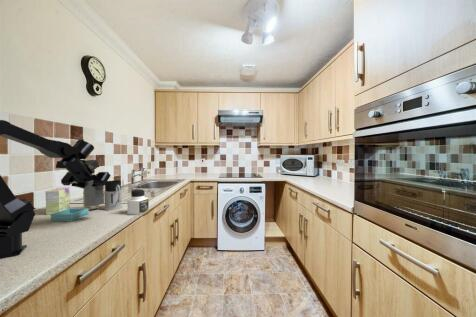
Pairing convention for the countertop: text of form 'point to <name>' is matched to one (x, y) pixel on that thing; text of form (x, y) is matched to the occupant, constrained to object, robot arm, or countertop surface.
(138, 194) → the medicine bottle
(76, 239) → the countertop surface
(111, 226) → the countertop surface
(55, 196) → the box
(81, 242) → the countertop surface
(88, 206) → the carving
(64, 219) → the teal tray
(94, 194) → the tall grey square pillar
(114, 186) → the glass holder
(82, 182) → the robot arm
